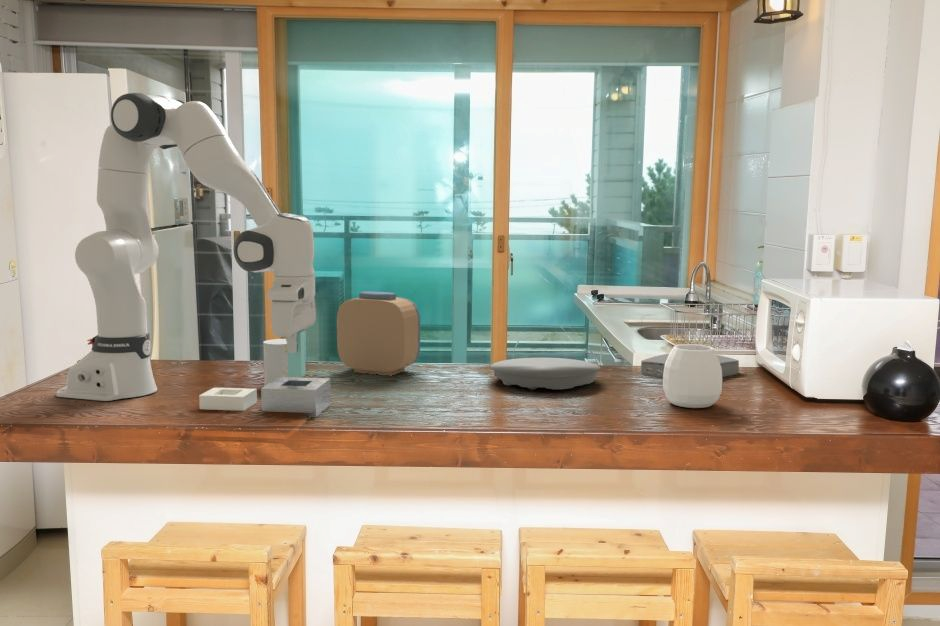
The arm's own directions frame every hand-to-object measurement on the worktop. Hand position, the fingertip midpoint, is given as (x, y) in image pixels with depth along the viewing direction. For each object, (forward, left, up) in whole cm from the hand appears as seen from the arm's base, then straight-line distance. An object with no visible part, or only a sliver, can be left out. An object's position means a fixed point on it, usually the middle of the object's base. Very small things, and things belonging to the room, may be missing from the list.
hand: (296, 350), depth 190 cm
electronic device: (+92, +54, -14) cm, 108 cm away
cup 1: (-10, +19, -14) cm, 25 cm away
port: (0, 0, -13) cm, 13 cm away
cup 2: (+88, +16, -14) cm, 90 cm away
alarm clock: (+9, +44, -14) cm, 47 cm away
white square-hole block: (-15, -2, -13) cm, 20 cm away
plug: (0, 0, -6) cm, 6 cm away
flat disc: (+54, +36, -14) cm, 66 cm away
